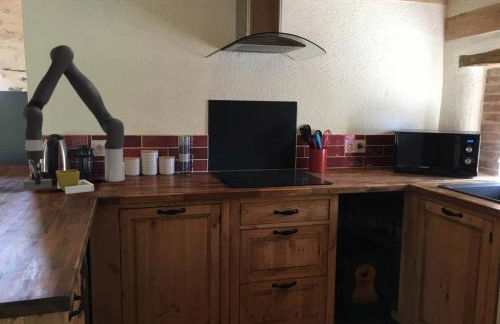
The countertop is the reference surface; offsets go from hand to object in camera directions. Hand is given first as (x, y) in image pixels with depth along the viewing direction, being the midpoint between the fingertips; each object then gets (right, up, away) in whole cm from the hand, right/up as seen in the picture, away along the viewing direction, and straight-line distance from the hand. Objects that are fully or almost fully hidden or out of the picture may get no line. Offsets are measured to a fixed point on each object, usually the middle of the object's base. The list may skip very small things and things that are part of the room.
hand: (36, 183), depth 195 cm
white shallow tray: (+19, -3, -1) cm, 19 cm away
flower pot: (+16, -3, -2) cm, 17 cm away
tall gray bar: (0, -3, +1) cm, 3 cm away
